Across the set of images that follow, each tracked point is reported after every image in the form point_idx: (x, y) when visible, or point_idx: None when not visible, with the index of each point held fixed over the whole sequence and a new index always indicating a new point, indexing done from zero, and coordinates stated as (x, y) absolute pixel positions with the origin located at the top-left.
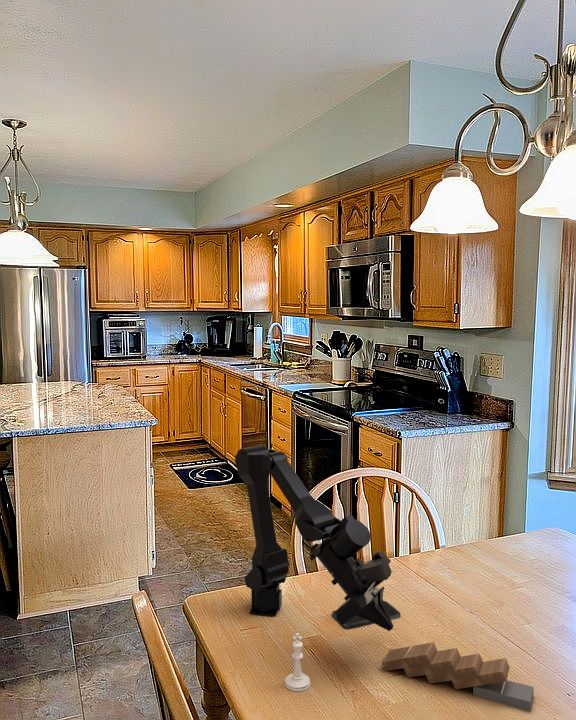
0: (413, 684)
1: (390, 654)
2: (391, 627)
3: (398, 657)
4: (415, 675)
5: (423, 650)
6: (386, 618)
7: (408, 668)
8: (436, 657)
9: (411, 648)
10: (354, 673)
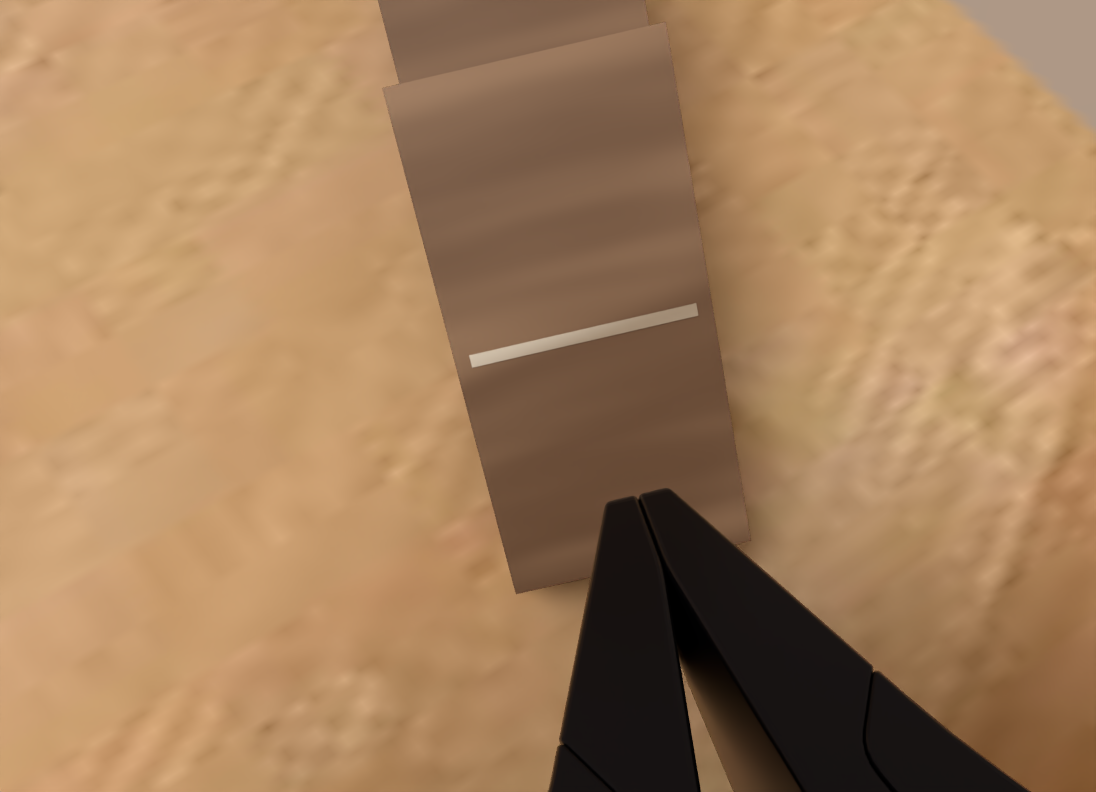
0: (724, 237)
1: None
2: (679, 498)
3: (681, 390)
4: None
5: (570, 128)
6: (738, 603)
7: None
8: (529, 38)
9: (507, 332)
10: (946, 698)
